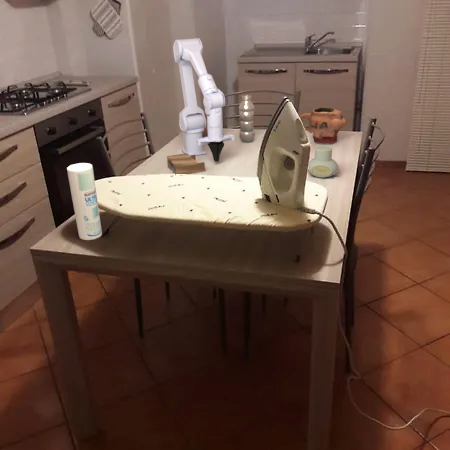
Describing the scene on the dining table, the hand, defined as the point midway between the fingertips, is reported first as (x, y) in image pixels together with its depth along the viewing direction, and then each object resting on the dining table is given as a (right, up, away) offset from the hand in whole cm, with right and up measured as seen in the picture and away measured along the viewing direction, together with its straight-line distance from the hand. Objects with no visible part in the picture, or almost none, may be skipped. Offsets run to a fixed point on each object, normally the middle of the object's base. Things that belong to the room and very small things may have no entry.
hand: (216, 160), depth 192 cm
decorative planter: (+45, +11, +24) cm, 52 cm away
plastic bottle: (+13, +12, +28) cm, 33 cm away
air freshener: (+38, -7, -13) cm, 41 cm away
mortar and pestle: (-5, +16, +37) cm, 40 cm away
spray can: (-34, -27, -51) cm, 68 cm away
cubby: (-11, -3, -3) cm, 12 cm away
